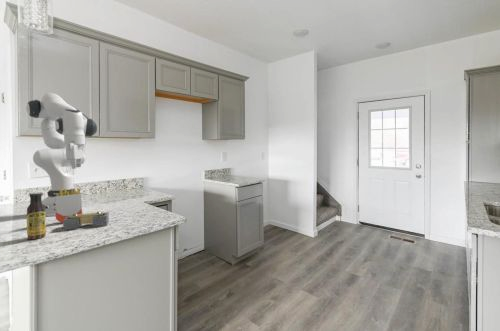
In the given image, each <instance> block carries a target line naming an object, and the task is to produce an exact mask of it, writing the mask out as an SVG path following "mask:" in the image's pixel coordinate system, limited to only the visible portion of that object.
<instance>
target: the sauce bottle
mask: <svg viewBox="0 0 500 331" xmlns="http://www.w3.org/2000/svg"><path fill="white" fill-rule="evenodd" d="M42 196H43V193H42V192H30V193H29V199H30V200H29V205H28V207H27V208H26V235H27V239H28V240H38V239H42V238H44V237H45V236H46V232H47V230H46V229H47V227H46V226H47V224H46V217H47V216H45V206H44V205H43V204H42V201H43V199H42Z"/></svg>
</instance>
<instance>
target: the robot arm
mask: <svg viewBox="0 0 500 331" xmlns="http://www.w3.org/2000/svg"><path fill="white" fill-rule="evenodd" d="M25 108H26V112H27V113H28V115H29V117H31V118H34V119H39V118H40V119H42V121H41V122H40V129H41V130H40V131H41V135H42V139H43V142H44V144H45V146H47V148H45V149H44V148H43V149H39V150H36V151H35V152H34V153H33V156H32V160H33V163H34V164H35V165H36V166H37V167H39V168H40V169H42V170H44V171H45V172H46V173H47V175H48V177H49V180H50V187H51V188H50V190H48V191H47V192H46V193H47V194H46V195H47V196H46V198H44V199H42V204H43V205H44V206H45V216H46V217H53V216H55V217H56V214H55V207H56V204H55V196H56V194H59V195H60V190H61V189H63V192H64V190H65V189H67V191H69V194H70V192H71V188H73V193H74V190H76V188H75V184H74V183H75V182H74V176H73V175H72V174H71V173H69V172H66V171H63V169H62V168H64V167H65V168H66V167H71V169H73V170H74V169H77V168H81V167H82V165H83V164H84V163H85V162H86V158H87V156H86V154H85V153H86V149H85V147H86V144H87V143H86V142H87V141H86V137H93V136H94V135H95V134H97V131H98V126H97V123H96V122H95V121H94V120H93V119H92V118H89V117H88V116H86V115H85V114H84V113H83V112H82V111H81V110H79V109H78V108H75V107H73V106H72V105H71V104H68V103H67V102H66V101H65V100H64V99H63V97H61V96H60V95H58V94H56V93H53V92H48V93H45V94H44V95H42V98H41V100H38V99H34V100H29V101H28V102H27V103H26V106H25Z"/></svg>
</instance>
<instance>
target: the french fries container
mask: <svg viewBox="0 0 500 331" xmlns="http://www.w3.org/2000/svg"><path fill="white" fill-rule="evenodd" d="M55 204H56V207H55V214H56V216H55V219H56V220H57V221H58V222H60V223H62V224H63V220H64V219H65V218H66V217H67V216H71V215H73V214H83V208H82V205H83V204H82V193H81V188H77V191H76V189H75V190H74V193H73V188H71V192H70V194H69V191H67V189H65V190H64V192H63V189H61V190H60V195H59V194H56V196H55Z"/></svg>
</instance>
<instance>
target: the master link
mask: <svg viewBox="0 0 500 331" xmlns="http://www.w3.org/2000/svg"><path fill="white" fill-rule="evenodd" d="M103 213H104V211H97V212H87V213H82V214H73V215H71V216H69V218H70V219H74V218H79V224H82V225H87V224H93V219H92V217H94V216H104V214H103Z"/></svg>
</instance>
